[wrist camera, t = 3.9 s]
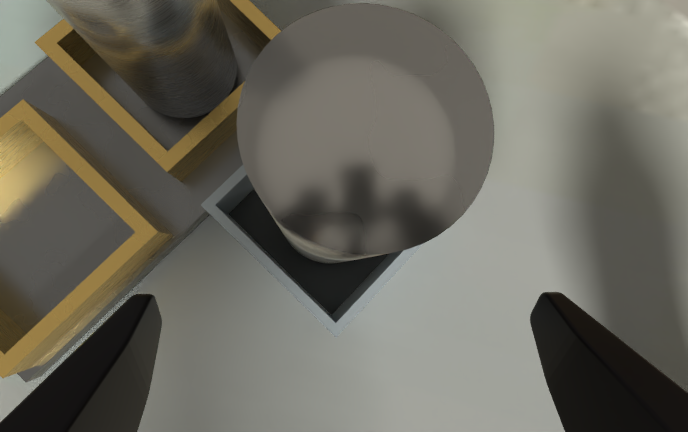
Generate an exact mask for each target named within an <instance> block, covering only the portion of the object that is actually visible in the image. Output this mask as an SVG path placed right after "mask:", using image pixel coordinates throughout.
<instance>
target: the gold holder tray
mask: <svg viewBox="0 0 688 432" xmlns="http://www.w3.org/2000/svg"><path fill="white" fill-rule="evenodd" d="M217 3H218V6H219V9H220V12H221V15H222V18H223V21H224V24H225V27H226V30H227V33H228V36H229V39H230V42H231V45H232V48H233V51H234V54H235V57H236V62H237V74H236V79H235V83H234V86H233V88H232V90H231V92H230V94H229V95H228V96H227V98H226V99H225V100H224V101H223V102H221V103H220V104H219V105H218V106H217V107H216V108H215V109H213V110H212V111H210V112H208V113H205V114H203V115H200V116H196V117H191V118H177V117H171V116H167V115H164V114H161V113H159V112H157V111H155V110H154V109H152V108H151V107H149V106H148V105H147V104H146V103H145V102H144V101H143V100H142V99H141V98H140V97H139V96H138V95H137V94H136V93H135V92H134V91H133V90H132V89H131V88H130V87H129V86H128V85H127V84H126V83H125V82H124V80H123V79H122V78H121V77H120V76H119V75H118V74H117V73H116V72H115V71H114V70H113V69H112V68H111V67H110V66H109V65H108V64H107V63H106V62H105V61H104V60H103V59H102V58H101V57H100V56H99V55H98V54H97V53H96V52H95V51H94V49H93V48H92V47H91V46H90V45H89V44H88V43H87V42H86V41H85V40H84V39H83V38H82V37H81V36H80V35H79V34H78V33H77V32H76V31H75V30H74V29H73V28H72V27H71V26H70V25H69V24H68V23H67V22H66V21H65V20H64V19H63V20H61V21H60V22H59V23H58V24H57V25H55V26H54V27H53V28H52V29H50V30H49V31H48V32H47V33H45V34H44V35H43V36H42V37H41V38H39V39H38V40H37V41H36V42H35V43H36V44H37V45H38V46H39V47H40V48H41V49H42V50H43V51H44V52H45V53H46V54H47V55H48V56H49V57H48V58H46V59H45V60H44V61H43V62H42V63H40V64H39V65H38V66H37V67H35V68H34V69H33V70H32V71H31V72H29V73H28V74H27V75H26V76H25V77H23V78H22V79H21V80H20V81H18V82H17V83H16V84H15V85H14V86H12V87H11V88H10V89H9V90H8V91H6V92H5V93H4V94H3V95H2V96H0V376H1V377H2V378H5V377H8V376H10V375H13V374H16V373H17V374H18V375H19V376H20V377H21V378H22V379H23V380H24V381H25V382H28V381H31V380H33V379H36V378H38V377H41V376H42V375H43V374H44V373H45V372H46V371H47V370H48V369H49V368H50V367H51V366H52V365H53V364H54V363H55V362H56V361H57V360H58V359H59V358H60V357H61V356H63V355H64V354H65V353H66V352H67V351H68V350H69V349H70V348H71V347H72V346H73V345H74V344H75V343H76V342H77V341H78V340H79V339H80V338H81V337H82V336H83V335H84V334H85V333H86V332H88V331H89V330H90V329H91V328H92V327H93V326H94V325H95V324H96V323H97V322H98V321H99V320H100V319H101V318H102V317H103V316H104V315H105V314H106V313H107V312H108V311H109V310H110V309H112V308H113V307H114V306H115V305H116V304H117V303H118V302H119V301H120V300H121V299H122V298H123V297H124V296H125V295H126V294H127V293H128V292H129V291H130V290H131V289H132V288H133V287H134V286H135V285H137V284H138V283H139V282H140V281H141V280H142V279H143V278H144V277H145V276H146V275H147V274H148V273H149V272H150V271H151V270H152V269H153V268H154V267H155V266H156V265H157V264H158V263H159V262H160V261H162V260H163V259H164V258H165V257H166V256H167V255H168V254H169V253H170V252H171V251H172V250H173V249H174V248H175V247H176V246H177V245H178V244H179V243H180V242H181V241H182V240H183V239H184V238H186V237H187V236H188V235H189V234H190V233H191V232H192V231H193V230H194V229H195V228H196V227H197V226H198V225H199V224H200V223H201V222H202V221H203V220H204V219H205V218H206V217H207V216H208V215H209V213H208V212H207V211H206V210H205V209H204V208H203V207H202V206H201V204H202V203H203V202H204V201H205V200H206V199H207V198H208V197H209V196H210V195H212V194H213V193H214V192H215V191H216V190H217V189H218V188H219V187H220V186H221V185H222V184H223V183H224V182H225V181H226V180H227V179H228V178H229V177H230V176H232V175H233V174H234V173H235V172H236V171H237V170H238V169H239V168H240V167H241V166H242V165H243V162H242V159H241V155H240V150H239V145H238V140H237V111H238V104H239V99H240V95H241V90H242V87H243V85H244V82H245V79H246V77H247V74H248V72H249V70H250V69H251V67H252V65H253V63H254V61H255V60H256V58H257V57H258V55H259V54H260V53H261V51H262V50H263V49H264V47H265V46H266V45H267V44H268V43H269V42H270V41H271V40H272V39H273V38H274V37H275V36H276V35H277V34H278V33H280V32H281V30H280V29H279V28H277V27H276V26H275V25H274V24H273V23H272V22H271V21H270V20H269V19H268V18H267V17H266V16H265V15H264V14H263V13H262V12H261V11H260V10H259V9H258V8H257V7H256V6H255V5H254V4H253V3H251V2H250V1H249V0H217Z"/></svg>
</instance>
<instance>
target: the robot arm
mask: <svg viewBox="0 0 688 432" xmlns="http://www.w3.org/2000/svg"><path fill="white" fill-rule="evenodd" d="M530 323H531V327H532V331H533V334H534V338H535V342H536V346H537V349H538V353H539V357H540V361H541V365H542V368H543V372H544V376H545V379H546V382H547V385H548V388H549V391H550V393H551V396H552V399H553V401H554V404H555V406H556V409H557V412H558V414H559V417H560V420H561V422H562V425H563V427H564V430H565V432H688V393H687V392H686V391H685V390H683V389H682V388H681V387H679V386H678V385H677V384H676V383H674V382H673V381H672V380H671V379H669V378H668V377H667V376H666V375H664V374H663V373H662V372H661V371H659V370H658V369H657V368H656V367H654V366H653V365H652V364H650V363H649V362H648V361H647V360H645V359H644V358H643V357H642V356H640V355H639V354H638V353H637V352H635V351H634V350H633V349H632V348H630V347H629V346H628V345H626V344H625V343H624V342H623V341H621V340H620V339H619V338H618V337H616V336H615V335H614V334H613V333H611V332H610V331H609V330H608V329H606V328H605V327H604V326H603V325H601V324H600V323H599V322H597V321H596V320H595V319H594V318H592V317H591V316H590V315H589V314H587V313H586V312H585V311H584V310H582V309H581V308H580V307H579V306H577V305H576V304H575V303H573V302H572V301H571V300H570V299H568V298H567V297H566V296H565V295H563V294H562V293H559V292H544V293H542V294H541V295H540V297H539V299H538V301H537V303H536V305H535V307H534V308H533V310H532V312H531V316H530ZM161 326H162V319H161V315H160V312H159V308H158V305H157V302H156V299H155V297H154V296H153V295H151V294H136V295H133V296H132V297H130V298H129V299H128V300H127V301H126V302H125V303H124V304H123V305H122V306H121V307H120V308H119V309H118V310H117V311H116V312H115V313H114V314H113V315H112V316H111V317H109V318H108V319H107V320H106V321H105V322H104V323H103V324H102V325H101V326H100V327H99V328H98V329H97V330H96V331H95V332H94V333H93V334H92V335H91V336H90V337H89V338H88V339H87V340H86V341H84V342H83V343H82V344H81V345H80V346H79V347H78V348H77V349H76V350H75V351H74V352H73V353H72V354H71V355H70V356H69V357H68V358H67V359H66V360H65V361H64V362H63V363H62V364H61V365H60V366H58V367H57V368H56V369H55V370H54V371H53V372H52V373H51V374H50V375H49V376H48V377H47V378H46V379H45V380H44V381H43V382H42V383H41V384H40V385H39V386H38V387H37V388H36V389H35V390H33V391H32V392H31V393H30V394H29V395H28V396H27V397H26V398H25V399H24V400H23V401H22V402H21V403H20V404H19V405H18V406H17V407H16V408H15V409H14V410H13V411H12V412H11V413H10V414H9V415H7V416H6V417H5V418H4V419H3V420H2V421H1V422H0V432H137V430H138V427H139V424H140V421H141V418H142V414H143V411H144V408H145V405H146V401H147V398H148V394H149V390H150V385H151V380H152V375H153V370H154V364H155V359H156V354H157V348H158V343H159V338H160V332H161Z"/></svg>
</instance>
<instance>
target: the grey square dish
mask: <svg viewBox="0 0 688 432" xmlns="http://www.w3.org/2000/svg"><path fill="white" fill-rule="evenodd" d="M253 190H254V187H253V185H252V183H251V181H250V179H249V177H248V175H247V173H246V171H245V168H244V165H242V166H241V167H240V168H239V169H238V170H237V171H236V172H235V173H234V174H233V175H232V176H230V177H229V178H228V179H227V180H226V181H225V182H224V183H223V184H222V185H221V186H220V187H219V188H218V189H217V190H216V191H215V192H214V193H213V194H212V195H210V196H209V197H208V198H207V199H206V200H205V201H204V202H203V203H202V204H201V206H202V207H203V208H204V209H205V210H206V211H207V212H208V213H209V214H210V215H211V216H212V217H213V218H214V219H215V220H216V221H217V222H218V223H219V224H220V225H221V226H222V227H223V228H225V229H226V230H227V231H228V232H229V233H230V234H231V235H232V236H233V237H234V238H235V239H236V240H237V241H238V242H239V243H240V244H241V245H242V246H243V247H244V248H245V249H246V250H247V251H248V252H249V253H250V254H251V255H252V256H253V257H254V258H255V259H256V260H257V261H258V262H259V263H260V264H261V265H262V266H263V267H264V268H265V269H266V270H267V271H268V272H269V273H270V274H271V275H272V276H274V277H275V278H276V279H277V280H278V281H279V282H280V283H281V284H282V285H283V286H284V287H285V288H286V289H287V290H288V291H289V292H290V293H291V294H292V295H293V296H294V297H295V298H296V299H297V300H298V301H299V302H300V303H301V304H302V305H303V306H304V307H305V308H306V309H307V310H308V311H309V312H310V313H311V314H312V315H313V316H314V317H315V318H316V319H317V320H318V321H319V322H320V323H321V324H323V325H324V326H325V327H326V328H327V329H328V330H329V331H330V332H331V333H332V334H333V335H334V336H335V337H337V336H338V335H339V334H340V333H341V332H342V331H343V330H344V329H345V328H346V327H347V325H348V324H349V323H350V322H351V321H352V320H353V319H354V318H355V317H356V316H357V315H358V314H359V313H360V311H361V310H362V309H363V308H364V307H365V306H366V305H367V304H368V303H369V302H370V301H371V300H372V298H373V297H374V296H375V295H376V294H377V293H378V292H379V291H380V290H381V289H382V288H383V287H384V286H385V284H386V283H387V282H388V281H389V280H390V279H391V278H392V277H393V276H394V275H395V274H396V273H397V271H398V270H399V269H400V268H401V267H402V266H403V265H404V264H405V263H406V262H407V261H408V260H409V259H410V257H411V256H412V255H413V254H414V253H415V252H416V251H417V250H418V249H419V248H420V247H421V246H422V245H423V244H421V245H418V246H415V247H412V248H410V249H407V250H403V251H398V252H394V253H389V254H388V255H387V257H386V258H385V259H384V260H383V261H382V262H381V263H380V264H379V265H378V266H377V267H376V268H375V269H374V270H373V271H372V273H371V274H370V275H369V276H368V277H367V278H366V279H365V280H364V281H363V282H362V283H361V284H360V285H359V286H358V287H357V289H356V290H355V291H354V292H353V293H352V294H351V295H350V296H349V297H348V298H347V299H346V300H345V301H344V302H343V303H342V305H341V306H340V307H339V308H338V309H337V310H336V311H335V312H334V313H333V314H332V315H331V314H330V313H329V312H328V311H327V310H326V309H325V308H324V307H322V306H321V305H320V304H319V303H318V302H317V301H316V300H315V299H314V298H313V297H312V296H311V295H310V294H309V293H308V292H307V291H306V290H305V289H304V288H303V287H302V286H301V285H300V284H299V283H298V282H297V281H296V280H295V279H294V278H293V277H292V276H291V275H290V274H289V273H288V272H287V271H286V270H285V269H284V268H283V267H282V266H281V265H280V264H279V263H278V262H276V261H275V260H274V259H273V258H272V257H271V256H270V255H269V254H268V253H267V252H266V251H265V250H264V249H263V248H262V247H261V246H260V245H259V244H258V243H257V242H256V241H255V240H254V239H253V238H252V237H251V236H250V235H249V234H248V233H247V232H246V231H245V230H244V229H243V228H242V227H241V226H240V225H239V224H238V223H237V222H236V221H235V220H234V219H233V218H232V217H230V216H229V215H228V214H229V213H230V212H231V211H232V210H233V209H234V208H235V207H236V206H237V205H238V204H239V203H240V202H241V201H242V200H243V199H244V198H245V197H246V196H247V195H248V194H249V193H250V192H252V191H253Z"/></svg>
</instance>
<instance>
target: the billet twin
mask: <svg viewBox="0 0 688 432" xmlns="http://www.w3.org/2000/svg"><path fill="white" fill-rule="evenodd" d="M46 1H47V2H48V3H49V4H50V5H51V6H52V7H53V8H54V9H55V10H56V11H57V12H58V13H59V14H60V15H61V16H62V17H63V18H64V20H65V21H66V22H67V23H68V24H69V25H70V26H71V27H72V28H73V29H74V30H75V31H76V32H77V33H78V34H79V35H80V36H81V37H82V38H83V39H84V40H85V41H86V42H87V43H88V44H89V45H90V46H91V47H92V48H93V49H94V51H95V52H96V53H97V54H98V55H99V56H100V57H101V58H102V59H103V60H104V61H105V62H106V63H107V64H108V65H109V66H110V67H111V68H112V69H113V70H114V71H115V72H116V73H117V74H118V75H119V76H120V77H121V78H122V79H123V80H124V82H125V83H126V84H127V85H128V86H129V87H130V88H131V89H132V90H133V91H134V92H135V93H136V94H137V95H138V96H139V97H140V98H141V99H142V100H143V101H144V102H145V103H146V104H147V105H148V106H149V107H151V108H152V109H154V110H155V111H157V112H159V113H161V114H164V115H167V116H171V117H177V118H191V117H196V116H200V115H203V114H205V113H208V112H210V111H212V110H213V109H215V108H216V107H217V106H218V105H219V104H220V103H221V102H223V101H224V100H225V99H226V98H227V96H228V95H229V94H230V92H231V90H232V88H233V86H234V83H235V79H236V74H237V62H236V57H235V54H234V51H233V48H232V45H231V42H230V39H229V36H228V33H227V30H226V27H225V24H224V21H223V18H222V15H221V12H220V9H219V6H218V3H217V0H46Z"/></svg>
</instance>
